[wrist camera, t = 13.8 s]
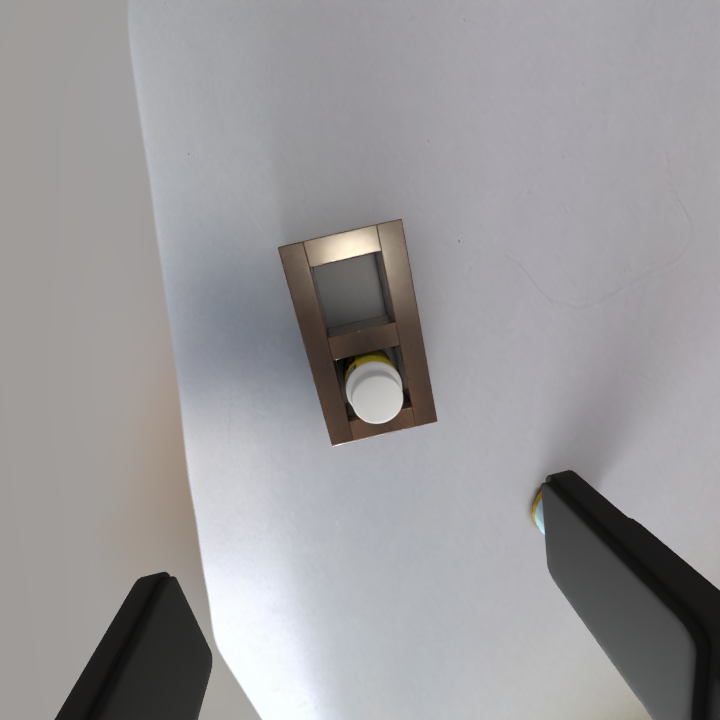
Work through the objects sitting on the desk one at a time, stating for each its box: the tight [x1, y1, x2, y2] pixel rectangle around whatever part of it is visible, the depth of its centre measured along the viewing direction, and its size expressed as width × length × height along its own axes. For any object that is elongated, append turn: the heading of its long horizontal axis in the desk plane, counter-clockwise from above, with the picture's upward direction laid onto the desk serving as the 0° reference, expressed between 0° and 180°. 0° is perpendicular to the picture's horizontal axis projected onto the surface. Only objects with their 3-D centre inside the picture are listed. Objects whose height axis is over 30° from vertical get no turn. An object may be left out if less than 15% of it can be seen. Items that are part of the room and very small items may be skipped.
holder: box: [278, 219, 437, 446], centre depth 32 cm, size 10×18×4 cm, turn 12°
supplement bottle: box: [344, 349, 403, 424], centre depth 31 cm, size 5×5×8 cm
